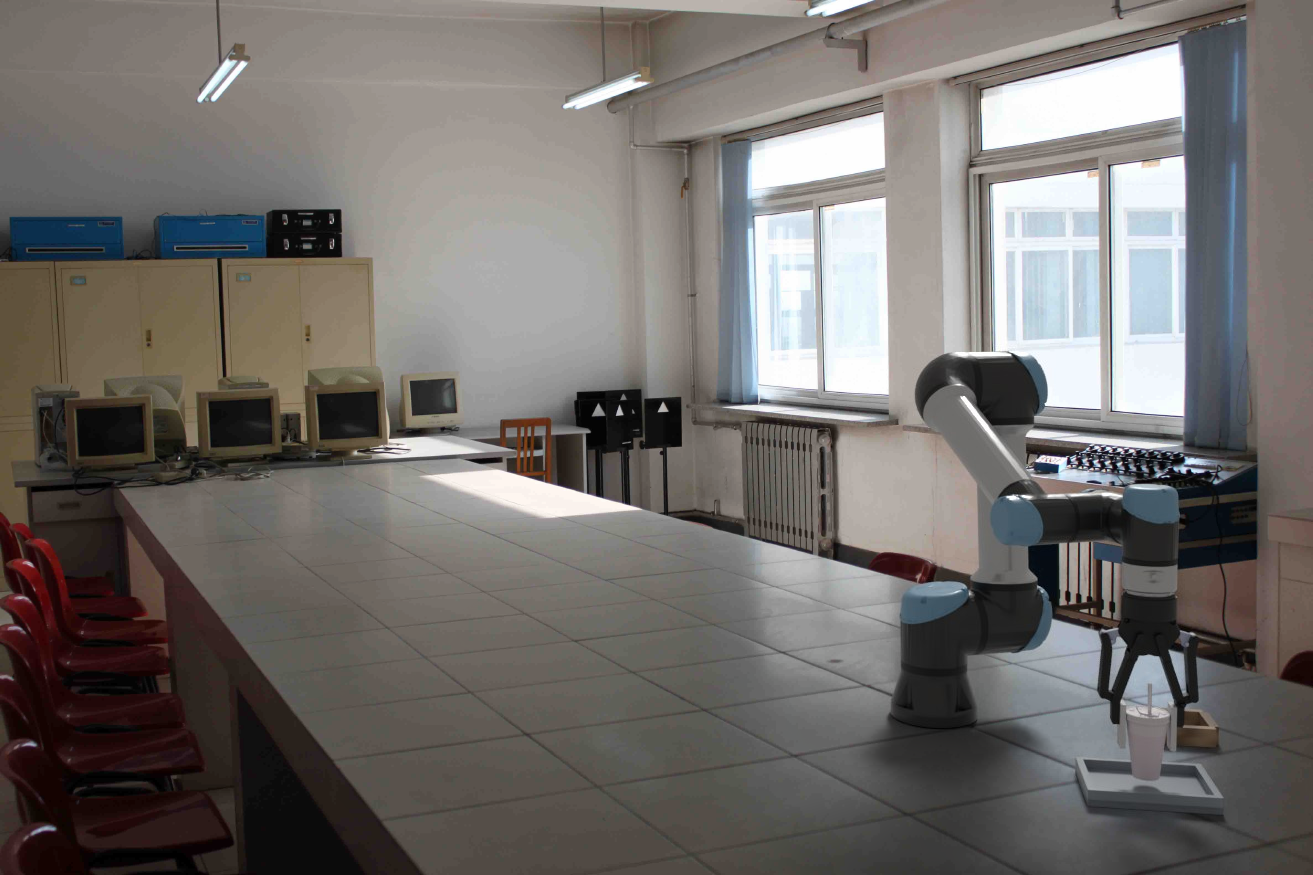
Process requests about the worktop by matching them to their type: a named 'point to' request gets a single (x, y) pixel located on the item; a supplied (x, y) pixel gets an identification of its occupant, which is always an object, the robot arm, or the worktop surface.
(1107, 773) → the tray
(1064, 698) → the worktop surface
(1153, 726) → the smoothie
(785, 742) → the worktop surface
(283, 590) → the worktop surface
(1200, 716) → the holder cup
